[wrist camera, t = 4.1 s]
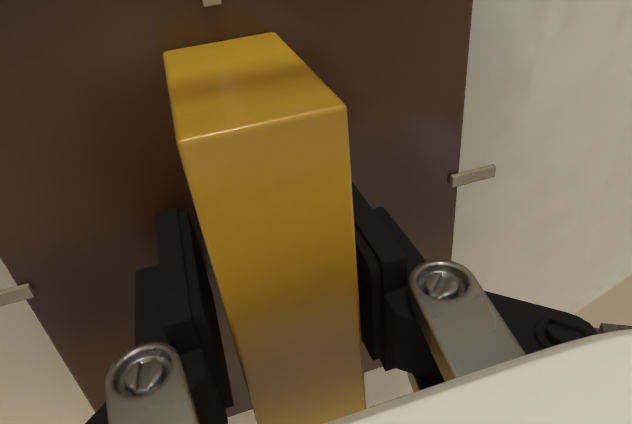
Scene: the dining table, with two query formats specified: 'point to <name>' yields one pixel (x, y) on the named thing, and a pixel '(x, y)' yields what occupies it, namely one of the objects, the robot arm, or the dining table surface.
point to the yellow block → (275, 220)
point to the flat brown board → (162, 153)
